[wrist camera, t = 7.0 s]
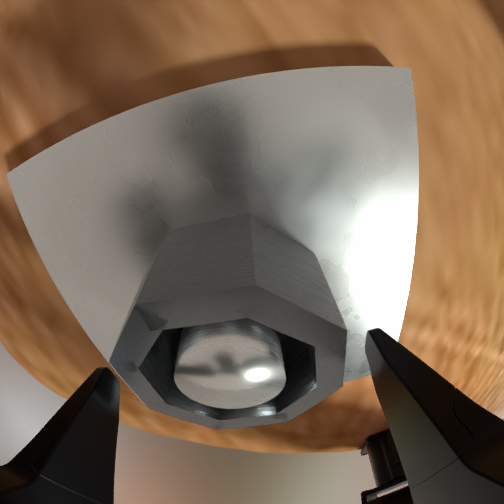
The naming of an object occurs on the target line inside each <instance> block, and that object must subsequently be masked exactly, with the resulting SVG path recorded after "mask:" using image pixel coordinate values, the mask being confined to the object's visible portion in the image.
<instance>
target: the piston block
mask: <svg viewBox="0 0 504 504" xmlns="http://www.w3.org/2000/svg"><path fill="white" fill-rule="evenodd" d="M6 175H7V178H8V181H9V184H10V187H11V190H12V193H13V196H14V198H15V201H16V204H17V206H18V209H19V211H20V214H21V216H22V219H23V221H24V223H25V226H26V228H27V230H28V232H29V235H30V237H31V239H32V241H33V243H34V245H35V247H36V249H37V251H38V253H39V255H40V257H41V259H42V261H43V263H44V265H45V267H46V269H47V271H48V273H49V274H50V276H51V278H52V280H53V282H54V283H55V285H56V287H57V289H58V290H59V292H60V294H61V295H62V297H63V299H64V300H65V302H66V303H67V305H68V307H69V308H70V310H71V311H72V313H73V314H74V316H75V317H76V319H77V320H78V322H79V323H80V325H81V326H82V328H83V329H84V331H85V332H86V334H87V335H88V336H89V338H90V339H91V341H92V342H93V343H94V345H95V346H96V347H97V349H98V350H99V351H100V353H101V354H102V355H103V357H104V358H105V359H106V360H107V362H108V363H109V360H110V357H111V355H112V352H113V349H114V347H115V344H116V341H117V339H118V336H119V334H120V331H121V329H122V326H123V324H124V321H125V319H126V316H127V314H128V312H129V309H130V307H131V305H132V302H133V300H134V298H135V295H136V293H137V291H138V288H139V286H140V284H141V282H142V280H143V278H144V276H145V274H146V272H147V270H148V268H149V266H150V264H151V262H152V260H153V258H154V257H155V255H156V253H157V251H158V249H159V247H160V245H161V243H162V241H163V240H164V238H165V236H166V234H167V232H168V230H172V229H177V228H181V227H186V226H190V225H195V224H199V223H204V222H209V221H213V220H218V219H223V218H228V217H233V216H237V215H242V214H247V213H250V214H252V215H254V216H255V217H257V218H258V219H260V220H262V221H263V222H265V223H267V224H268V225H270V226H272V227H273V228H275V229H277V230H278V231H280V232H281V233H283V234H285V235H286V236H288V237H289V238H291V239H293V240H294V241H296V242H297V243H299V244H301V245H302V246H304V247H305V248H307V249H309V250H310V251H312V252H313V253H315V255H316V258H317V260H318V262H319V264H320V267H321V269H322V271H323V273H324V276H325V278H326V280H327V283H328V285H329V287H330V289H331V292H332V294H333V297H334V299H335V301H336V304H337V306H338V308H339V311H340V313H341V316H342V318H343V321H344V323H345V326H346V328H347V344H346V358H345V369H344V380H343V382H346V381H350V380H354V379H357V378H361V377H364V376H368V375H371V371H370V368H369V364H368V360H367V357H366V353H365V341H366V333H367V331H368V330H371V329H375V328H380V329H382V330H383V331H385V332H386V333H387V334H388V335H390V336H391V337H392V338H394V339H395V340H396V341H397V342H398V338H399V334H400V330H401V326H402V321H403V317H404V312H405V307H406V302H407V296H408V291H409V285H410V279H411V272H412V265H413V257H414V249H415V239H416V228H417V214H418V193H419V151H418V130H417V117H416V106H415V97H414V89H413V82H412V75H411V69H410V68H405V67H389V66H335V67H317V68H305V69H295V70H287V71H279V72H272V73H265V74H259V75H253V76H247V77H242V78H237V79H232V80H227V81H223V82H218V83H214V84H210V85H206V86H202V87H198V88H194V89H191V90H187V91H183V92H180V93H177V94H173V95H170V96H167V97H164V98H161V99H158V100H155V101H152V102H149V103H146V104H143V105H141V106H138V107H135V108H132V109H130V110H127V111H125V112H122V113H120V114H117V115H115V116H112V117H110V118H108V119H105V120H103V121H101V122H99V123H96V124H94V125H92V126H90V127H88V128H86V129H83V130H81V131H79V132H77V133H75V134H73V135H71V136H69V137H67V138H65V139H64V140H62V141H60V142H58V143H56V144H54V145H52V146H51V147H49V148H47V149H45V150H44V151H42V152H40V153H39V154H37V155H35V156H34V157H32V158H30V159H29V160H27V161H25V162H24V163H22V164H21V165H19V166H18V167H16V168H15V169H13V170H12V171H10V172H9V173H7V174H6ZM109 364H110V363H109ZM110 365H111V364H110ZM111 367H112V365H111ZM112 368H113V367H112ZM113 369H114V368H113ZM114 370H115V369H114ZM115 371H116V370H115ZM116 373H117V371H116ZM117 374H118V373H117ZM118 375H119V374H118ZM119 376H120V375H119ZM120 377H121V376H120ZM121 379H122V377H121ZM122 380H123V379H122ZM123 381H124V380H123ZM174 381H175V383H176V385H177V387H178V389H179V390H180V391H181V392H182V393H183V394H184V395H186V396H187V397H189V398H190V399H192V400H194V401H196V402H198V403H201V404H204V405H207V406H211V407H216V408H225V409H239V408H247V407H252V406H256V405H260V404H262V403H265V402H267V401H269V400H271V399H272V398H274V397H275V396H277V395H278V394H279V393H280V392H281V391H282V389H283V388H284V385H285V382H286V375H285V368H284V362H283V355H282V349H281V343H280V336H279V331H276V330H274V329H272V328H269V327H267V326H265V325H263V324H260V323H258V322H256V321H254V320H251V319H249V318H243V319H237V320H230V321H224V322H217V323H210V324H203V325H196V326H189V327H182V333H181V339H180V344H179V349H178V355H177V360H176V366H175V372H174ZM124 382H125V381H124ZM125 383H126V382H125ZM126 384H127V383H126ZM127 386H128V385H127ZM128 387H129V386H128ZM129 388H130V387H129ZM130 389H131V388H130ZM131 390H132V389H131ZM132 391H133V390H132ZM133 392H134V391H133ZM135 395H136V394H135ZM136 396H137V395H136ZM137 397H138V396H137ZM138 398H139V397H138ZM139 399H140V398H139ZM140 400H141V399H140ZM141 401H142V400H141ZM142 402H143V401H142ZM143 403H144V402H143ZM144 404H145V403H144Z"/></svg>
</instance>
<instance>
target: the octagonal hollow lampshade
mask: <svg viewBox="0 0 504 504" xmlns="http://www.w3.org/2000/svg"><path fill="white" fill-rule="evenodd" d="M243 318H249V319H251V320H254V321H256V322H258V323H260V324H263V325H265V326H267V327H269V328H272V329H274V330H276V331H279V336H280V343H281V349H282V355H283V362H284V368H285V375H286V382H285V385H284V388H283V389H282V391H281V392H280V393H279V394H278V395H277V396H275V397H274V398H272V399H271V400H269V401H267V402H265V403H262V404H260V405H256V406H252V407H247V408H239V409H225V408H216V407H211V406H207V405H204V404H201V403H198V402H196V401H194V400H192V399H190V398H189V397H187V396H186V395H184V394H183V393H182V392H181V391H180V390H179V389H178V387H177V385H176V383H175V381H174V372H175V366H176V360H177V355H178V349H179V344H180V339H181V333H182V327H189V326H196V325H203V324H210V323H217V322H224V321H230V320H237V319H243ZM346 344H347V328H346V326H345V323H344V321H343V318H342V316H341V313H340V311H339V308H338V306H337V304H336V301H335V299H334V297H333V294H332V292H331V289H330V287H329V285H328V283H327V280H326V278H325V276H324V273H323V271H322V269H321V267H320V264H319V262H318V260H317V258H316V255H315V253H313V252H312V251H310V250H309V249H307V248H305V247H304V246H302V245H301V244H299V243H297V242H296V241H294V240H293V239H291V238H289V237H288V236H286V235H285V234H283V233H281V232H280V231H278V230H277V229H275V228H273V227H272V226H270V225H268V224H267V223H265V222H263V221H262V220H260V219H258V218H257V217H255V216H254V215H252V214H250V213H247V214H242V215H237V216H233V217H228V218H223V219H218V220H213V221H209V222H204V223H199V224H195V225H190V226H186V227H181V228H177V229H172V230H168V232H167V234H166V236H165V238H164V240H163V241H162V243H161V245H160V247H159V249H158V251H157V253H156V255H155V257H154V258H153V260H152V262H151V264H150V266H149V268H148V270H147V272H146V274H145V276H144V278H143V280H142V282H141V284H140V286H139V288H138V291H137V293H136V295H135V298H134V300H133V302H132V305H131V307H130V309H129V312H128V314H127V316H126V319H125V321H124V324H123V326H122V329H121V331H120V334H119V336H118V339H117V341H116V344H115V347H114V349H113V352H112V355H111V357H110V360H109V363H110V364H111V365H112V367H113V368H114V369H115V370H116V371H117V373H118V374H119V375H120V376H121V377H122V379H123V380H124V381H125V382H126V383H127V385H128V386H129V387H130V388H131V389H132V390H133V391H134V393H135V394H136V395H137V396H138V397H139V398H140V399H141V400H142V401H143V402H144V403H145V405H146V406H147V407H148V408H149V409H152V410H155V411H158V412H160V413H163V414H166V415H169V416H172V417H175V418H178V419H182V420H185V421H188V422H192V423H195V424H198V425H202V426H206V427H210V428H213V429H231V428H243V427H252V426H261V425H269V424H276V423H283V422H289V421H290V420H292V419H294V418H295V417H297V416H299V415H300V414H302V413H304V412H305V411H307V410H308V409H310V408H311V407H313V406H315V405H316V404H318V403H319V402H321V401H322V400H324V399H325V398H327V397H328V396H329V395H331V394H332V393H334V392H335V391H337V390H338V389H339V388H341V387H342V386H343V380H344V369H345V358H346Z"/></svg>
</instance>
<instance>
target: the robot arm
mask: <svg viewBox="0 0 504 504" xmlns="http://www.w3.org/2000/svg"><path fill="white" fill-rule="evenodd" d="M365 353H366V357H367V360H368V364H369V368H370V371H371V375H372V379H373V383H374V387H375V390H376V393H377V396H378V399H379V402H380V404H381V407H382V409H383V412H384V415H385V417H386V420H387V423H388V425H389V428H390V431H387V432H384V433H381V434H378V435H375V436H372V437H369V438H367V439H366V442H365V444H364V446H363V448H362V450H361V455H366V454H368V455H369V459H370V463H371V466H372V471H373V475H374V478H375V483H376V487H377V488H374V489H371V490H366V491H363V492H362V493H361V497H362V498H361V500H362V504H504V421H503V420H502V419H500V418H499V417H497V416H496V415H494V414H492V413H491V412H489V411H487V410H486V409H484V408H483V407H481V406H480V405H478V404H477V403H475V402H474V401H473V400H471V399H470V398H469V397H467V396H466V395H465V394H463V393H462V392H461V391H460V390H458V389H457V388H455V387H454V386H453V385H452V384H451V383H449V382H448V381H447V380H446V379H444V378H443V377H442V376H441V375H439V374H438V373H437V372H436V371H434V370H433V369H432V368H431V367H429V366H428V365H427V364H426V363H424V362H423V361H422V360H420V359H419V358H418V357H417V356H415V355H414V354H413V353H412V352H410V351H409V350H408V349H406V348H405V347H404V346H403V345H401V344H400V343H399V342H397V341H396V340H395V339H394V338H392V337H391V336H390V335H388V334H387V333H386V332H385V331H383V330H382V329H380V328H375V329H371V330H368V331H367V333H366V341H365ZM119 398H120V383H119V380H118V379H117V377H116V376H115V375H114V374H113V373H112V372H111V370H110V369H109V368H107V367H99V368H97V369H96V370H95V371H94V372H93V373H92V374H91V375H90V376H89V377H88V378H87V379H86V381H85V382H84V383H83V384H82V385H81V386H80V387H79V388H78V389H77V390H76V391H75V392H74V394H73V395H72V396H71V397H70V398H69V399H68V400H67V401H66V402H65V404H64V405H63V406H62V407H61V408H60V409H59V410H58V411H57V413H56V414H55V415H54V416H53V417H52V418H51V419H50V420H49V421H48V423H47V424H46V425H45V426H44V428H42V429H41V430H40V432H39V433H38V434H37V435H36V436H35V437H34V438H33V439H32V440H31V441H30V442H29V444H27V445H26V447H24V448H23V449H22V450H21V451H20V452H19V453H18V454H17V455H16V456H15V457H14V458H13V459H12V460H11V461H10V462H9V463H7V464H5V465H3V466H0V504H114V473H115V457H116V445H117V434H118V425H119ZM406 483H408V485H409V486H406V487H404V488H401V489H399V490H397V491H394V492H391V493H389V494H387V495H383V496H381V497H377V494H380V493H383V492H386V491H388V490H391V489H393V488H396V487H398V486H401V485H403V484H406Z"/></svg>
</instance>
